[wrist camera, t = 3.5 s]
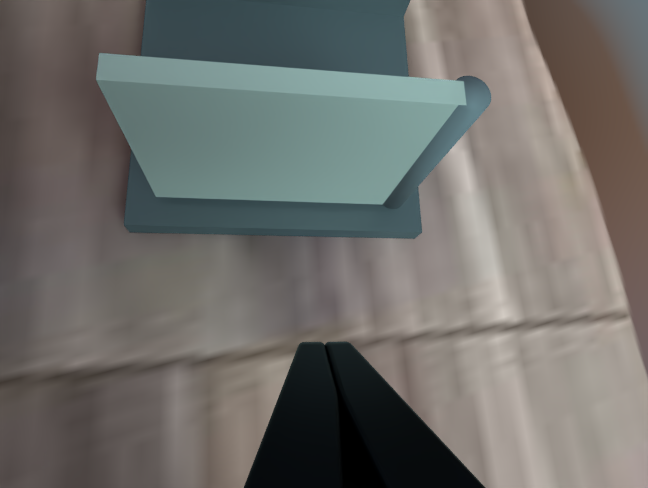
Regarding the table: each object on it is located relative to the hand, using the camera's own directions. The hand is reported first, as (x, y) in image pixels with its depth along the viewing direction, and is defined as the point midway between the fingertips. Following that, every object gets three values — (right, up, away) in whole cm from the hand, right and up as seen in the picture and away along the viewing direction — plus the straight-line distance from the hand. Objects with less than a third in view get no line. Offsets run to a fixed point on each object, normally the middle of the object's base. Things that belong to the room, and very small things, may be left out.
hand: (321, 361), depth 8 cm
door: (-2, +4, +13) cm, 13 cm away
